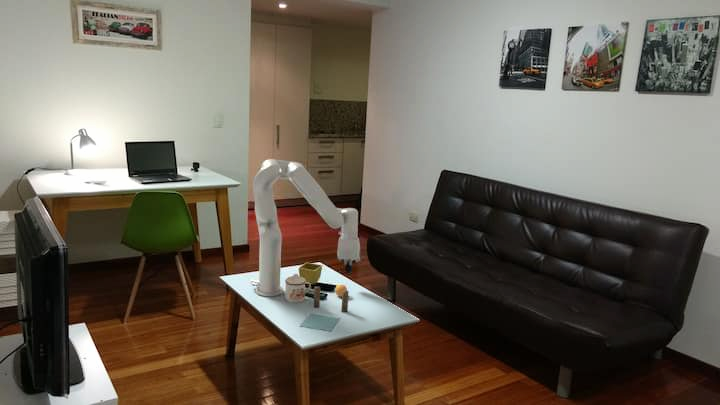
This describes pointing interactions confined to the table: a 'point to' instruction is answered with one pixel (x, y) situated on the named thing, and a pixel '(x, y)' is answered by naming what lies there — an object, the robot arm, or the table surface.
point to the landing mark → (320, 322)
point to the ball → (340, 289)
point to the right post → (345, 301)
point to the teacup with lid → (296, 288)
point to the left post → (316, 297)
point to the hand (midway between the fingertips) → (348, 272)
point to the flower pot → (310, 272)
